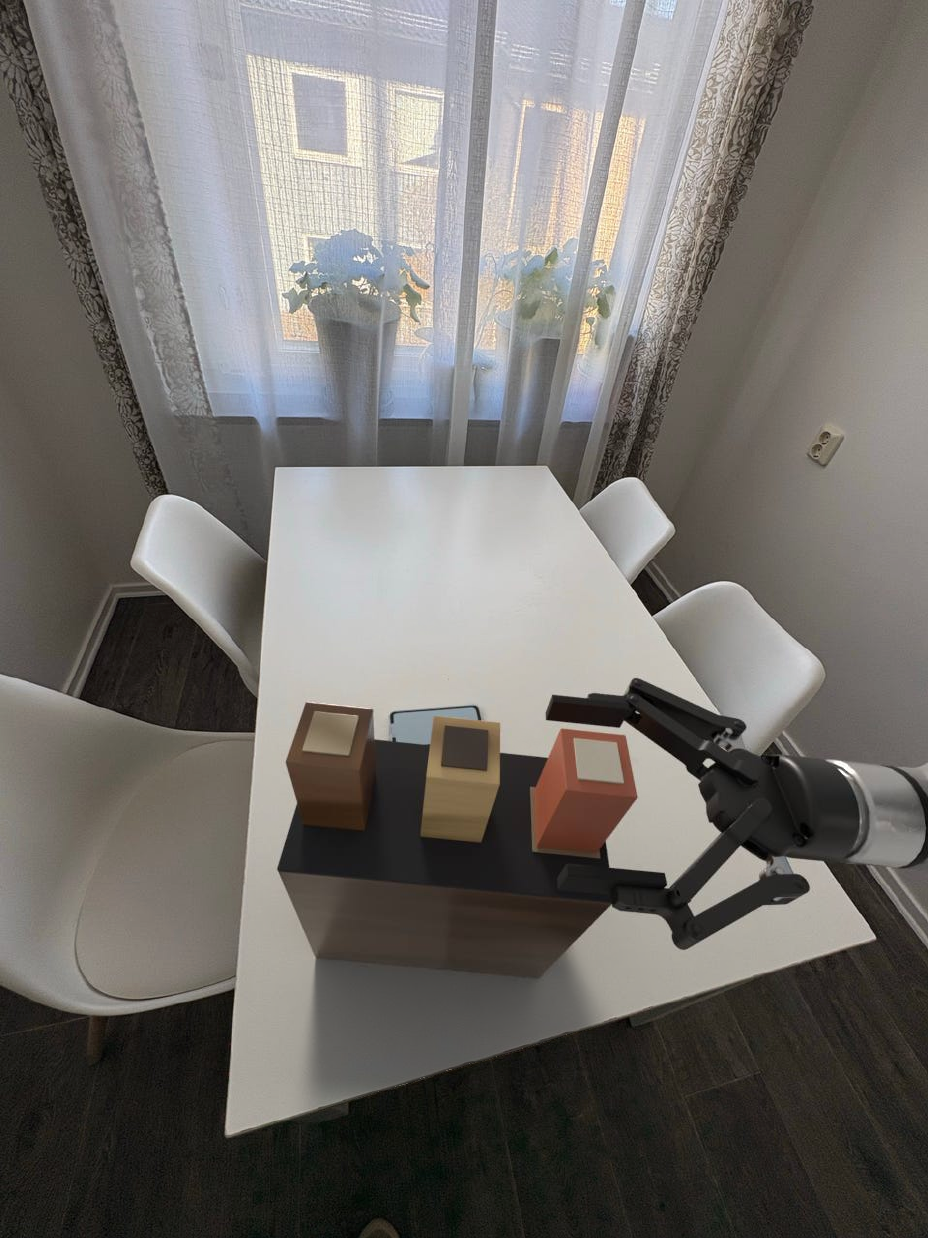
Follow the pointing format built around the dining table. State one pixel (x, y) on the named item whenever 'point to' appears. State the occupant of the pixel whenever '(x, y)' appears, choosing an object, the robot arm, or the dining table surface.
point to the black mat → (418, 860)
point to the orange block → (583, 790)
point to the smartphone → (425, 721)
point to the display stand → (436, 925)
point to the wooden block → (333, 765)
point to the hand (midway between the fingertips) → (554, 781)
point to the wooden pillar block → (461, 778)
